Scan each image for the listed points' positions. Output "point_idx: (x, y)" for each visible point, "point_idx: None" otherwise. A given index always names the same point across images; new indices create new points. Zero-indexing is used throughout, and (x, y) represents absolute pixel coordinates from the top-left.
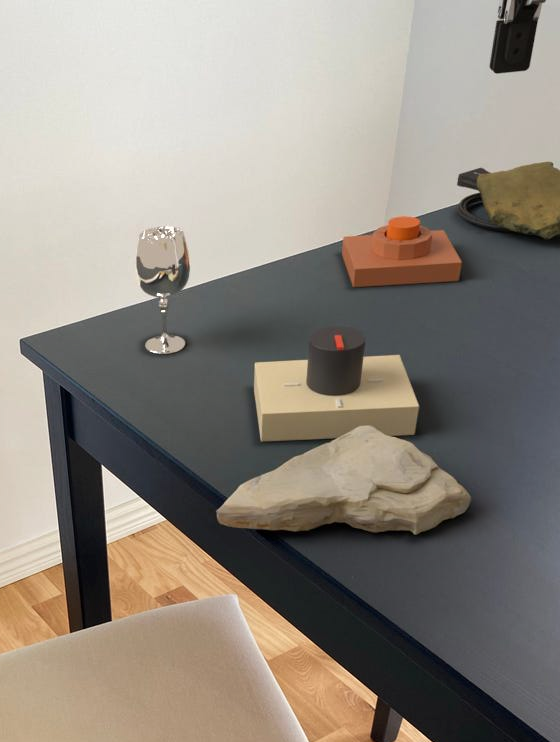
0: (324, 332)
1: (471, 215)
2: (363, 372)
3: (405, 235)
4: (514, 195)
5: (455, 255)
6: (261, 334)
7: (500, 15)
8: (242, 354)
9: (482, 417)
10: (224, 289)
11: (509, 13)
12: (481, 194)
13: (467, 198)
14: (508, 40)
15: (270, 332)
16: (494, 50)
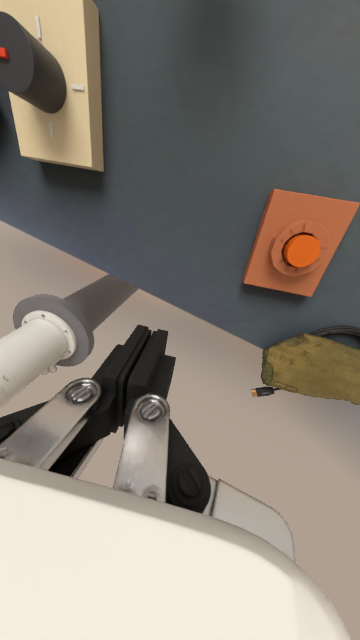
0: (18, 39)
1: (336, 331)
2: (64, 122)
3: (286, 247)
4: (318, 359)
5: (257, 284)
6: (209, 47)
7: (137, 399)
8: (171, 7)
9: (62, 215)
10: (351, 4)
11: (55, 396)
12: (348, 346)
13: None
14: (108, 365)
15: (210, 62)
16: (149, 346)
